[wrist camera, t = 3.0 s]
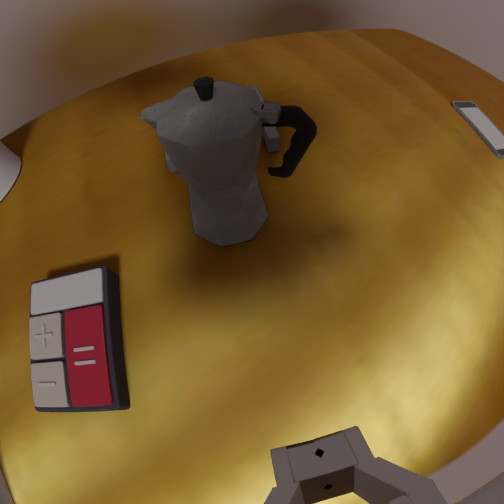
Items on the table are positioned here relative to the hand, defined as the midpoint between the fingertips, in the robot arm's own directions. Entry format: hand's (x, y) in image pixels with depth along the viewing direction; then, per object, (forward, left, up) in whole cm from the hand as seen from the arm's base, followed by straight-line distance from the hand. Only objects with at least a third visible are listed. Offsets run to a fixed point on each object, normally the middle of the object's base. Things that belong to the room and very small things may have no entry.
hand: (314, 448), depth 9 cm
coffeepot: (0, +23, -19) cm, 30 cm away
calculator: (-20, +11, -20) cm, 30 cm away
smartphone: (+49, +33, -20) cm, 63 cm away
